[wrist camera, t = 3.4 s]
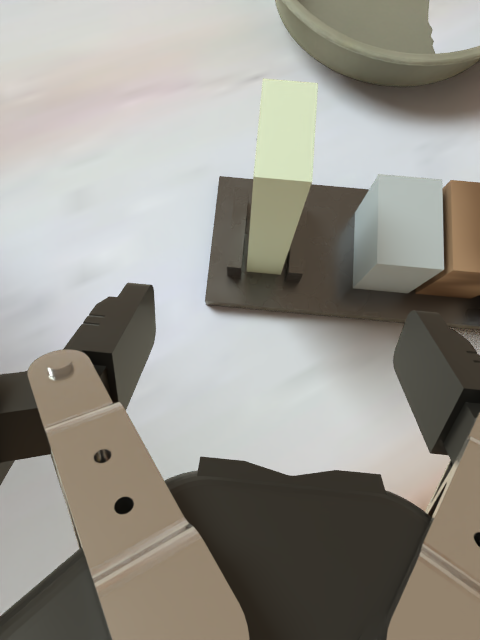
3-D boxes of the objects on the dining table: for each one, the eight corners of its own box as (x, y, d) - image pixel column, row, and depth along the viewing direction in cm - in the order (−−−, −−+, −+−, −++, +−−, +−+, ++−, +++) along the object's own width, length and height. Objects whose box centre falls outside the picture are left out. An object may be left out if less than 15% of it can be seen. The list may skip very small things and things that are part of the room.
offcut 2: (415, 293, 28) (453, 270, 23) (415, 217, 29) (450, 180, 24) (470, 298, 28) (520, 276, 23) (468, 222, 29) (514, 185, 24)
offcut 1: (352, 288, 28) (377, 263, 23) (354, 212, 29) (378, 174, 24) (407, 293, 28) (444, 269, 23) (407, 217, 29) (442, 179, 24)
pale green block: (246, 271, 28) (253, 176, 17) (252, 209, 29) (262, 78, 18) (280, 274, 28) (312, 182, 17) (285, 212, 29) (318, 83, 18)
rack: (206, 304, 29) (201, 288, 25) (220, 183, 31) (217, 151, 27) (490, 330, 29) (530, 319, 25) (484, 207, 31) (520, 178, 27)
